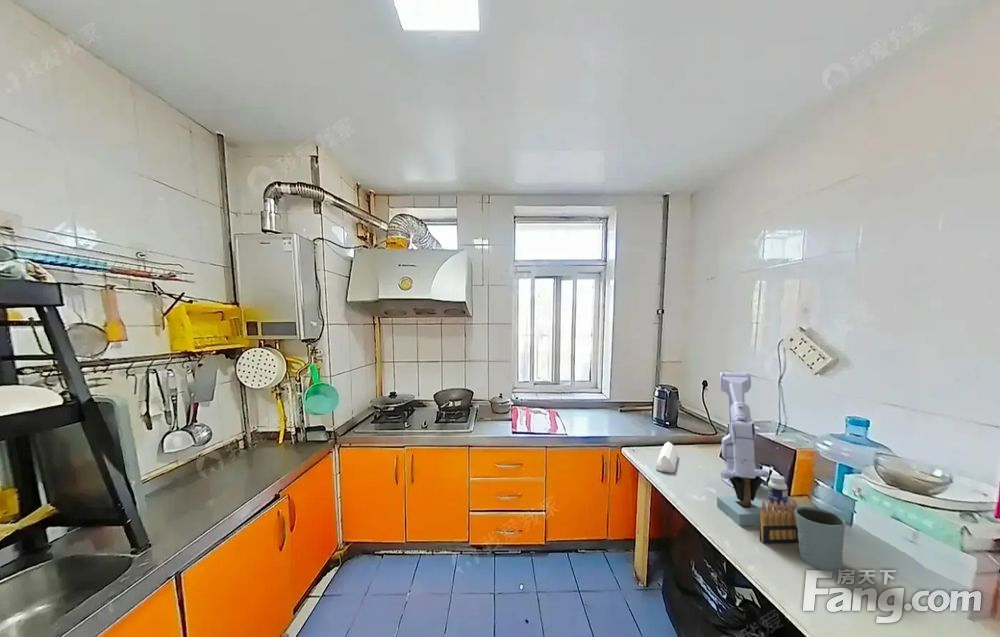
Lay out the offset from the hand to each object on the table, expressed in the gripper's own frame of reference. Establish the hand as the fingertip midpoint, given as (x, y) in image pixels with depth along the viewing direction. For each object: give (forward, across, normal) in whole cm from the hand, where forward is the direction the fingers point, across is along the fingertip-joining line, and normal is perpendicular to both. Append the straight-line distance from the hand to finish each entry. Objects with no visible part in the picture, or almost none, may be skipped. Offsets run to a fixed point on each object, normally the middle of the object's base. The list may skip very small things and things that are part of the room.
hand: (745, 499), depth 124 cm
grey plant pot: (+5, +4, -24) cm, 25 cm away
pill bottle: (+5, +15, +6) cm, 17 cm away
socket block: (+5, 0, 0) cm, 5 cm away
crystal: (+6, -5, +46) cm, 46 cm away
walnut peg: (+3, 0, 0) cm, 3 cm away
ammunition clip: (+5, 0, -15) cm, 16 cm away
